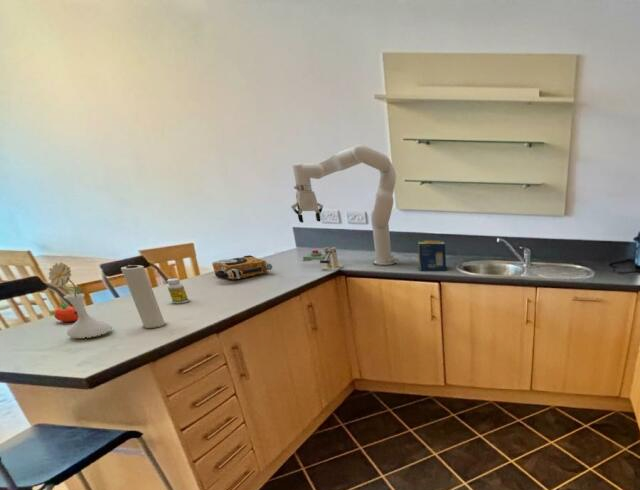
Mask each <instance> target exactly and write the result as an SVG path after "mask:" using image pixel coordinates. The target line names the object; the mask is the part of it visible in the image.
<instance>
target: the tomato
mask: <svg viewBox="0 0 640 490" xmlns="http://www.w3.org/2000/svg"><path fill="white" fill-rule="evenodd" d="M53 316H54V318H55V320H58V321H60V322H64V323H72V322H76V321H77V320H78V314H77V311H76V309H75V308H74V306H68V305H67V306H66V305H65V304H64V303H62V304H61V307H57V308H56V309H55V310H54V314H53Z"/></svg>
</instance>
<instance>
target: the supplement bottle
mask: <svg viewBox="0 0 640 490" xmlns="http://www.w3.org/2000/svg"><path fill="white" fill-rule="evenodd" d="M166 281H167V286H166V287H167V290H168V293H169V295H170V299H171V301H172V303H173V304H184V303H188V302H189V297H188V295H187V291H186V290H185V287H184V285H183V283H181V281H180V279H179V278H177V277H176V278H168V279H167V280H166Z"/></svg>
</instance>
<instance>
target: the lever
mask: <svg viewBox="0 0 640 490" xmlns="http://www.w3.org/2000/svg"><path fill="white" fill-rule="evenodd" d="M331 248H332V247H329V248H328V250H327V252H328V253H327V256H326V258H325V259H323V260H319V263H320V264H326V263H330V261H327V260H328V258H329V256H330V257H331V255H332V252H331Z"/></svg>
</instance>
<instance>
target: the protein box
mask: <svg viewBox="0 0 640 490" xmlns="http://www.w3.org/2000/svg"><path fill="white" fill-rule="evenodd" d="M417 250H418V251H417V252H418V264H419V270H420V272H429V271H430V272H432V271H433V272H435V271H447V259H446V258H447V257H446V256H447V255H446V254H447V253H446V243H445V242H444V240H417Z"/></svg>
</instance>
